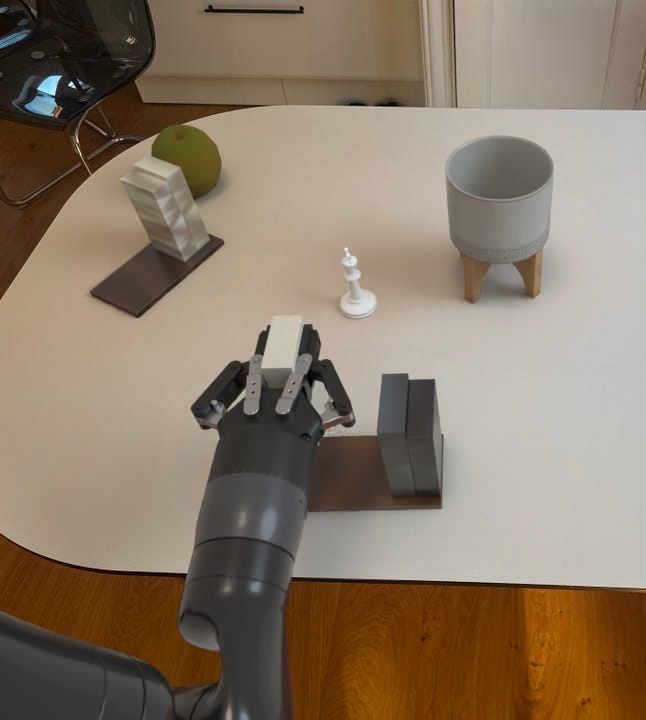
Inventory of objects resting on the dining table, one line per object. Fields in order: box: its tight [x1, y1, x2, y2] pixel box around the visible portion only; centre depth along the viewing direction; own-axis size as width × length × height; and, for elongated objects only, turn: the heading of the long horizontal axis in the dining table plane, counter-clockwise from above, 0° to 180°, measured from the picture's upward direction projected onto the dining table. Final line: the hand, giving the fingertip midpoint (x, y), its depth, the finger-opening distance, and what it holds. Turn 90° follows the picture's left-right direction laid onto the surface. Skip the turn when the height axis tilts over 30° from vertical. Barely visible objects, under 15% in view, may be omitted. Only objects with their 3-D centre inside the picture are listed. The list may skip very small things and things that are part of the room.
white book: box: [261, 314, 327, 445], centre depth 65 cm, size 3×6×12 cm, turn 1°
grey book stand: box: [307, 372, 445, 512], centre depth 73 cm, size 15×9×13 cm, turn 91°
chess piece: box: [339, 247, 378, 320], centre depth 90 cm, size 5×5×10 cm
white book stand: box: [89, 154, 225, 319], centre depth 94 cm, size 17×9×13 cm, turn 151°
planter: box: [444, 134, 555, 304], centre depth 91 cm, size 13×13×18 cm
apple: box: [150, 124, 223, 198], centre depth 107 cm, size 10×10×11 cm
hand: (291, 331), depth 64 cm, fingers closed on white book, 2 cm apart
